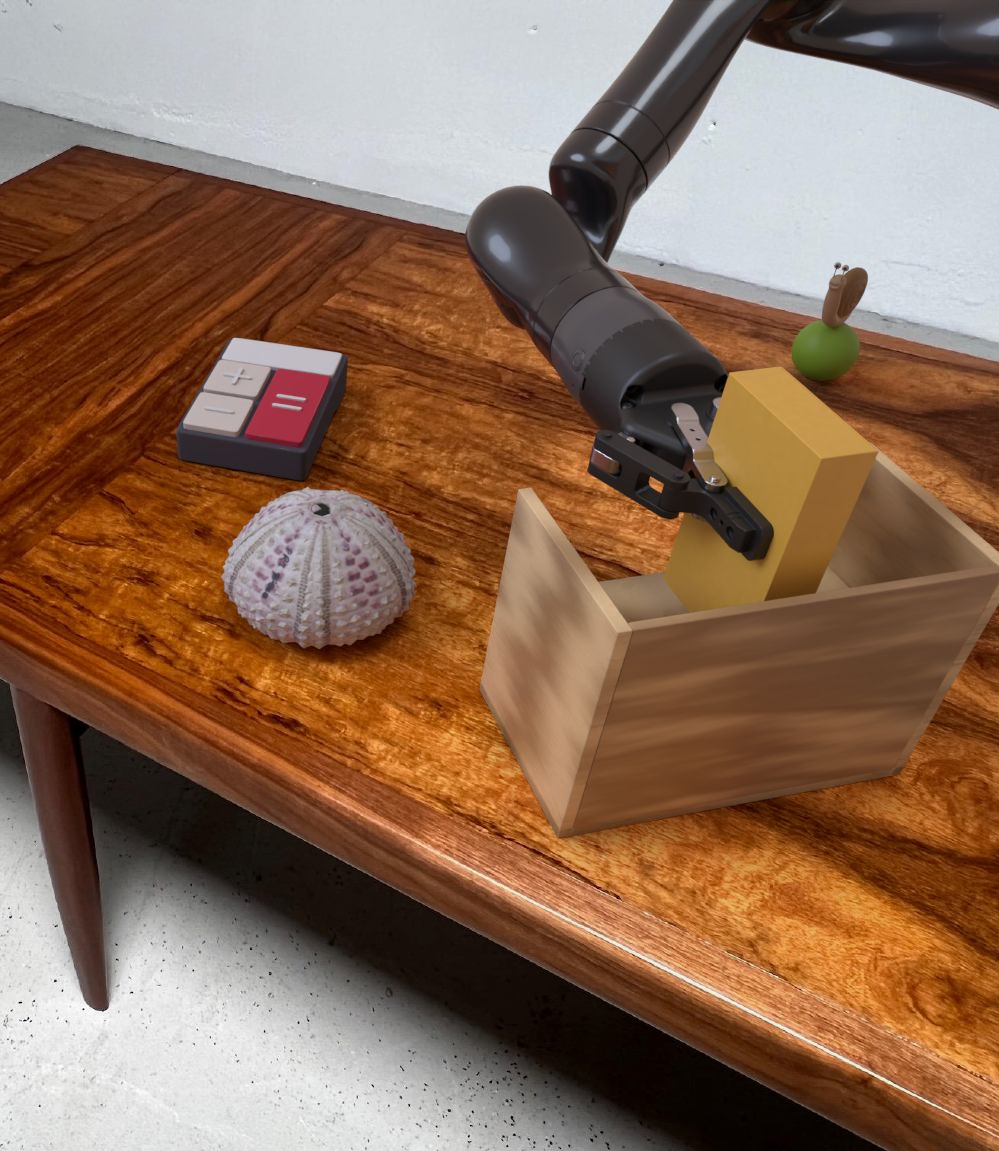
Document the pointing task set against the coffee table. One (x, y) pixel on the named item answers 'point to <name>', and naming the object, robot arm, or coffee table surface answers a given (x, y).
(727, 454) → the mustard yellow pillar block
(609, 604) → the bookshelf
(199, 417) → the calculator
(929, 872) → the coffee table surface
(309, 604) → the sea urchin shell
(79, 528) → the coffee table surface
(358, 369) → the coffee table surface
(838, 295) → the snail figurine
